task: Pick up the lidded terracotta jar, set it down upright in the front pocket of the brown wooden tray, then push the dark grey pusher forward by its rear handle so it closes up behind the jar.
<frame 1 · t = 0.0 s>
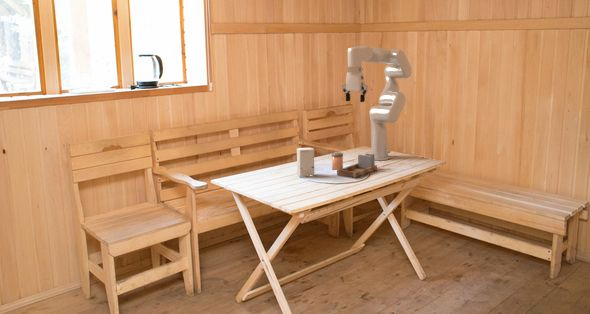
hand: (355, 101, 310), 37 cm above the table, tool pointing down, fingers open, 9 cm apart
skincare box: (306, 175, 301), on the table
pusher: (367, 161, 308), point 5 cm above the table, slide at 0.0 cm
brown wooden tray: (357, 173, 302), on the table
jar: (337, 169, 312), on the table
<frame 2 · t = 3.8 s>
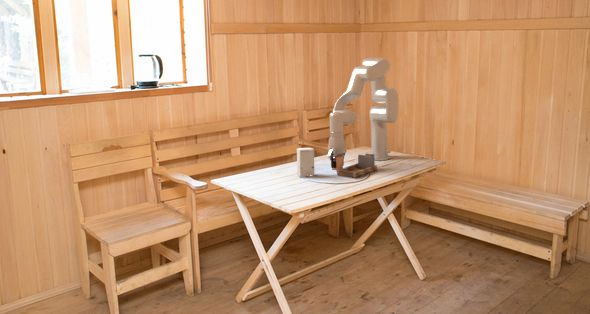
hand: (337, 166, 311), 2 cm above the table, tool pointing down, fingers closed on jar, 6 cm apart
jar: (337, 169, 312), on the table, touching gripper
everything else where it was.
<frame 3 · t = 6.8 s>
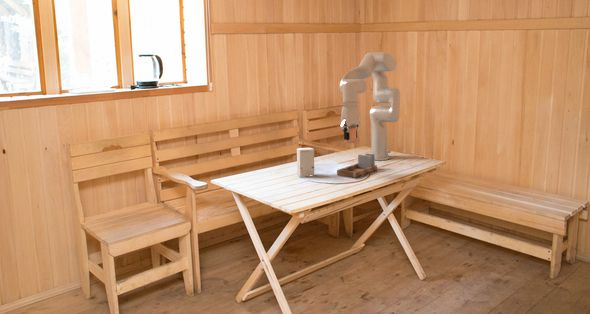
hand: (350, 138, 295), 20 cm above the table, tool pointing down, fingers closed on jar, 6 cm apart
jar: (350, 141, 295), point 18 cm above the table, touching gripper
everything else where it was.
when the fingers open (4 cm above the table, at t = 10.2 s): jar drops 2 cm, resting on brown wooden tray.
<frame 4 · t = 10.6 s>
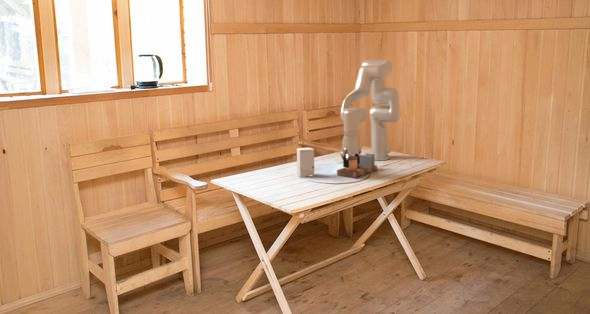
hand: (351, 165, 297), 5 cm above the table, tool pointing down, fingers open, 9 cm apart
jar: (351, 173, 298), point 1 cm above the table, touching brown wooden tray
everything else where it was.
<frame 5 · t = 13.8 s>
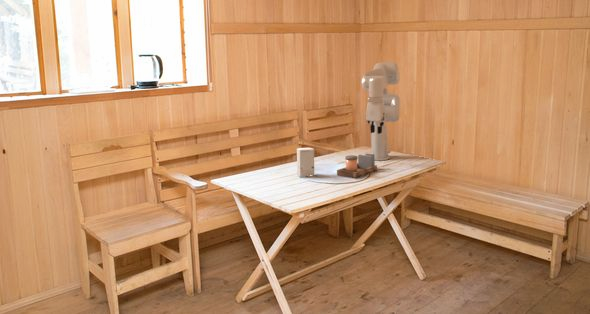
hand: (376, 132, 311), 19 cm above the table, tool pointing down, fingers open, 3 cm apart
nothing on the table moved.
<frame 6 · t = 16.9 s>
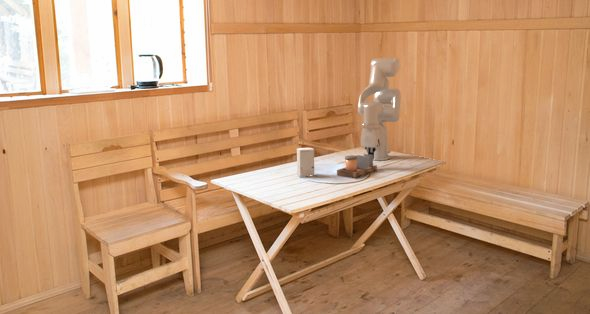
hand: (370, 159, 310), 5 cm above the table, tool pointing down, fingers closed
pusher: (366, 161, 307), point 5 cm above the table, slide at 1.6 cm, touching gripper
everything else where it was.
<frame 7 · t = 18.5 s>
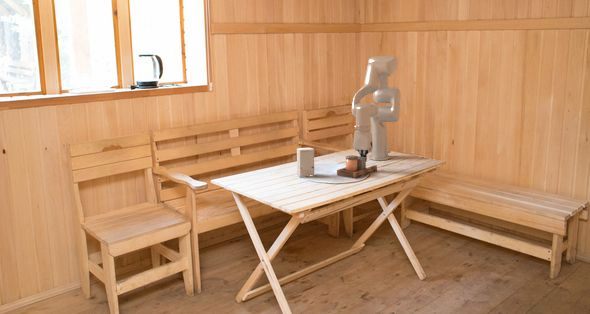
hand: (363, 161, 305), 5 cm above the table, tool pointing down, fingers closed
pusher: (358, 164, 302), point 5 cm above the table, slide at 8.5 cm, touching gripper
everything else where it was.
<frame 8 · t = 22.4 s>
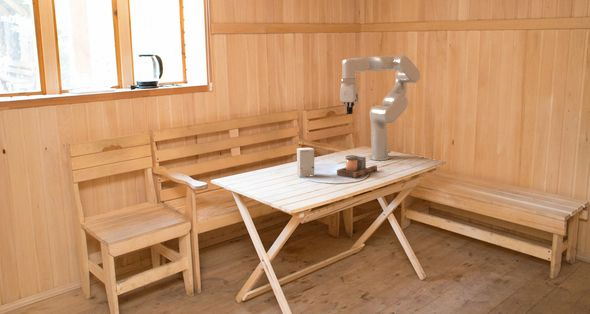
hand: (349, 113, 318), 29 cm above the table, tool pointing down, fingers closed
pusher: (358, 164, 302), point 5 cm above the table, slide at 8.6 cm
everything else where it was.
at the end: jar 0.1 cm from the target spot on the brown wooden tray, point 1.1 cm above the brown wooden tray's base; jar tilted 2°; pusher slide at 8.6 cm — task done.
